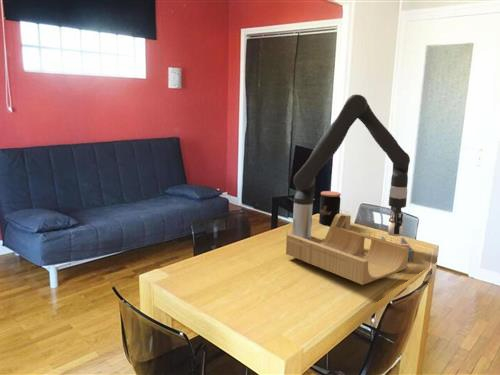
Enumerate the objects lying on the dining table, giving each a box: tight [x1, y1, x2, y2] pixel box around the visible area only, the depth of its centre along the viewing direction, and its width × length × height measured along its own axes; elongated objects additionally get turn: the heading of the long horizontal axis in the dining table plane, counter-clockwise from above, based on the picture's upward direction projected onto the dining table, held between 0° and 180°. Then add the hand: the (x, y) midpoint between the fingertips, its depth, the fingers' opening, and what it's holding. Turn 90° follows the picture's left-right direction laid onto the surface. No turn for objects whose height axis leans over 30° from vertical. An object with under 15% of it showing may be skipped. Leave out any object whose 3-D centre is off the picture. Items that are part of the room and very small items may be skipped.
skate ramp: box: [285, 209, 410, 286], centre depth 180 cm, size 40×35×16 cm
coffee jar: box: [318, 190, 342, 227], centre depth 235 cm, size 11×11×18 cm
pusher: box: [394, 242, 411, 250], centre depth 187 cm, size 7×2×5 cm, turn 84°
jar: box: [387, 218, 404, 237], centre depth 198 cm, size 6×6×7 cm
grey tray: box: [380, 236, 415, 262], centre depth 193 cm, size 10×19×4 cm, turn 174°
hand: (394, 231), depth 198 cm, fingers closed on jar, 6 cm apart
